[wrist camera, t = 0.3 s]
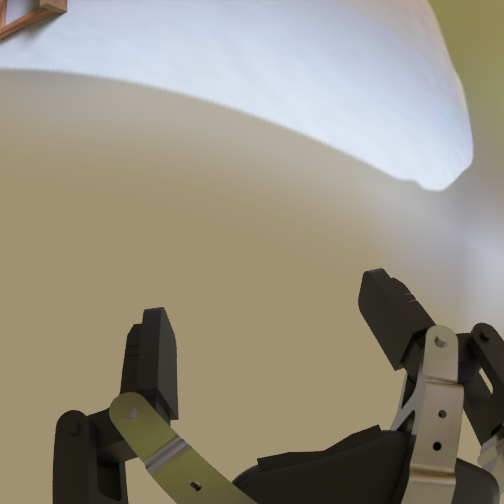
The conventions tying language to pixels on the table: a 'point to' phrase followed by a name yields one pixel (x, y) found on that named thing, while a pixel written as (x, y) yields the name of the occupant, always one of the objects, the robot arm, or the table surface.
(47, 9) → the shaker rack
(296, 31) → the table surface
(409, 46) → the table surface
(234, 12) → the table surface
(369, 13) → the table surface
